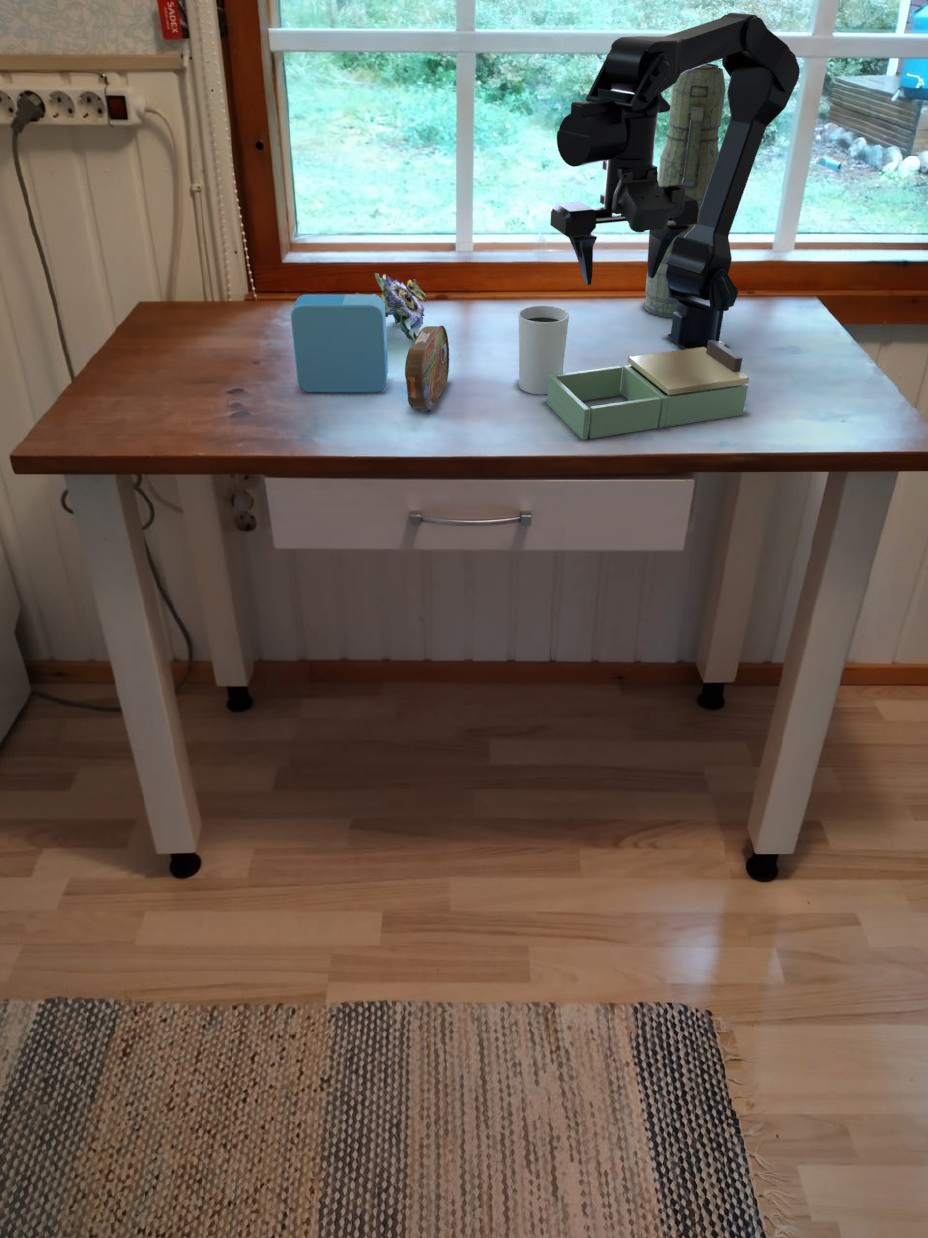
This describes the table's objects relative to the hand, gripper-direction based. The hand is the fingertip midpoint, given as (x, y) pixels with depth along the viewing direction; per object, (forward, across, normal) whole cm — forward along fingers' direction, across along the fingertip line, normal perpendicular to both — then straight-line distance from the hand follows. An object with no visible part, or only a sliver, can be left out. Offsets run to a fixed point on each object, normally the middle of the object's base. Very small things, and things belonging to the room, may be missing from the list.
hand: (619, 280), depth 132 cm
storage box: (+13, -1, -13) cm, 18 cm away
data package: (+13, -37, +6) cm, 40 cm away
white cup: (+13, -11, -2) cm, 17 cm away
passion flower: (+13, -27, +23) cm, 37 cm away
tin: (+13, -27, 0) cm, 30 cm away
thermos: (+13, +20, +22) cm, 33 cm away
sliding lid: (+9, +5, -13) cm, 16 cm away
